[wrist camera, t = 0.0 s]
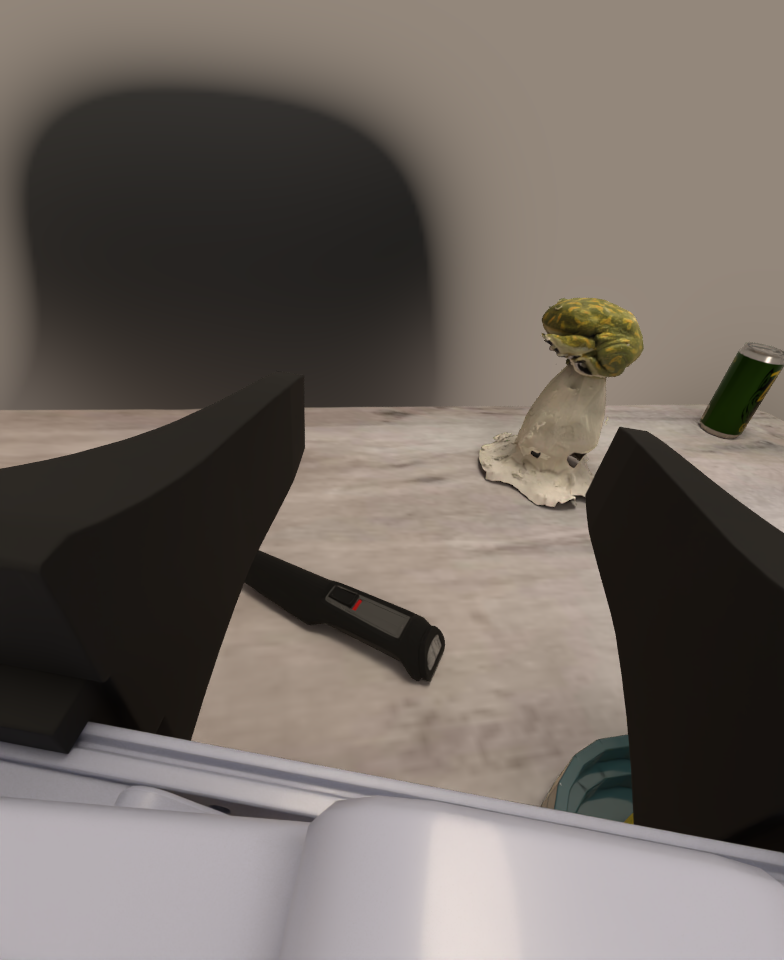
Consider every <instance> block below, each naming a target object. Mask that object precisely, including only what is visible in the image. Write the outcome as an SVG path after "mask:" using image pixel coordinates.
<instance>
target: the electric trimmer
mask: <svg viewBox="0 0 784 960" xmlns="http://www.w3.org/2000/svg"><path fill="white" fill-rule="evenodd" d="M245 583H246V584H248V585H249V586H251V587H252V588H253V589H255V590H256V591H258V592H259V593H261V594H262V595H264V596H265V597H267V598H268V599H270V600H271V601H273V602H274V603H275V604H277V605H278V606H280V607H281V608H283V609H284V610H286V611H287V612H289V613H290V614H292V615H293V616H295V617H297V618H298V619H300V620H301V621H303V622H304V623H306V624H309V625H314V624H324V623H326V624H328V625H330V626H332V627H334V628H336V629H338V630H340V631H342V632H344V633H346V634H348V635H350V636H352V637H353V638H355V639H357V640H359V641H361V642H363V643H365V644H367V645H369V646H371V647H373V648H375V649H377V650H379V651H381V652H383V653H385V654H387V655H389V656H391V657H393V658H395V659H397V660H399V661H401V662H402V663H403V665H404V667H405V668H406V670H407V671H408V673H409V674H410V676H411V677H412V678H413V679H414V680H416V681H419V680H420V679H421V678H422V679H424V680H426V681H428V682H430V681H431V679H432V676H433V675H434V673H435V670H436V667H437V666H438V664H439V661H440V658H441V657H442V654H443V651H444V648H445V640H444V636H443V634H442V632H441V631H440V630H439V629H438V628H437V627H435V626H431V625H430V624H429V623H428V622H427V621H426V620H425V619H424V618H423V617H421V616H419V615H417V614H415V613H413V612H411V611H408V610H406V609H403V608H401V607H398V606H396V605H394V604H391V603H389V602H386V601H384V600H381V599H379V598H376V597H374V596H372V595H369V594H367V593H364V592H362V591H359V590H357V589H354V588H352V587H349V586H347V585H344V584H342V583H339V582H335V581H332V580H328V579H326V578H323V577H321V576H319V575H316V574H314V573H312V572H309V571H307V570H304V569H302V568H300V567H297V566H295V565H293V564H290V563H288V562H285V561H283V560H281V559H278V558H276V557H274V556H271V555H269V554H266V553H264V552H262V551H259V550H258V551H257V553H256V556H255V558H254V560H253V562H252V564H251V567H250V569H249V571H248V574H247V576H246V579H245Z"/></svg>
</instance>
